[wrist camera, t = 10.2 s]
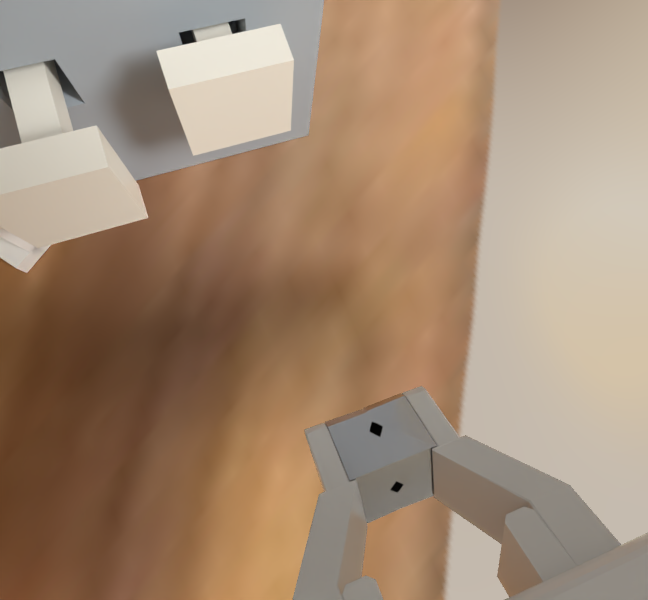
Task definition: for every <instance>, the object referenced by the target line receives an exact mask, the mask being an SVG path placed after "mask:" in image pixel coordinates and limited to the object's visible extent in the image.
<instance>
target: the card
mask: <svg viewBox="0 0 648 600" xmlns="http://www.w3.org/2000/svg"><path fill="white" fill-rule="evenodd" d="M50 246H51V245H48V246H45V247H41V248H36V247H35V246H33V245H31V244H29V243H28V242H26V241H24V240H22V239H21V238H19V237H17V236H15V235H14V234H12V233H10V232H8V231H7V230H5V229H3V228H1V227H0V258H1V259H3V260H4V261H6V262H7V263H9V264H11V265H12V266H14V267H15V268H17V269H19V270H21V271H23V272H26V273H28V272H29V270H30V269H31V268H32V267H33V266H34V264H35V263H36V262H37V261H38V260H39V259H40V257H41V256H42V255H43V254H44V253H45V252H46V250H47V249H48V248H49V247H50Z"/></svg>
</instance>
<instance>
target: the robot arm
mask: <svg viewBox="0 0 648 600" xmlns="http://www.w3.org/2000/svg"><path fill="white" fill-rule="evenodd" d="M304 431H305V435H306V438H307V441H308V444H309V447H310V451H311V454H312V457H313V460H314V463H315V466H316V470H317V473H318V476H319V479H320V482H321V485H322V488H323V490H324V492H323V493H321V494H319V497H318V501H317V505H316V509H315V513H314V517H313V521H312V525H311V529H310V533H309V537H308V540H307V544H306V548H305V552H304V556H303V560H302V564H301V568H300V572H299V576H298V580H297V584H296V588H295V592H294V596H293V600H383V597H382V595H381V592H380V590H379V587H378V585H377V582H376V580H375V579H373V578H370V577H368V576H364V577H362V578H361V576H362V567H363V559H364V551H365V542H366V534H367V523H369V522H371V521H374V520H376V519H378V518H380V517H383V516H385V515H387V514H389V513H391V512H394V511H396V510H398V509H400V508H403V507H406V506H408V505H411V504H413V503H416V502H418V501H421V500H424V499H426V498H429V497H431V496H434V498H436V499H437V500H438V501H440V502H441V503H443V504H444V505H446V506H447V507H449V508H450V509H451V510H453V511H454V512H456V513H457V514H459V515H460V516H462V517H463V518H464V519H466V520H467V521H469V522H470V523H472V524H473V525H475V526H476V527H477V528H479V529H480V530H482V531H483V532H485V533H486V534H488V535H489V536H491V537H492V538H493V539H495V540H496V541H498V542H499V543H500V544H502V547H501V554H500V561H499V568H498V575H497V577H498V578H499V580H500V582H501V583H502V585H503V587H504V588H505V590H506V592H507V594H508V595H509V598H507V599H505V600H648V533H646V534H644V535H642V536H640V537H637V538H635V539H633V540H631V541H629V542H627V543H625V544H623V545H621V544H620V543H619V542H618V540H617V539H616V538H615V537H614V536H613V535H612V534H611V532H610V531H609V530H608V529H607V528H606V527H605V526H604V524H603V523H602V522H601V521H600V520H599V518H598V517H597V516H596V515H595V514H594V513H593V512H592V510H591V509H590V508H589V507H588V506H587V505H586V503H585V502H584V501H583V500H582V499H581V498H580V497H579V495H578V494H577V493H576V492H575V491H574V489H573V488H572V487H571V486H570V485H568V484H566V483H564V482H562V481H560V480H558V479H556V478H554V477H551V476H550V475H548V474H545V473H543V472H541V471H539V470H537V469H535V468H533V467H531V466H529V465H527V464H524V463H522V462H520V461H518V460H516V459H514V458H512V457H510V456H508V455H506V454H503V453H501V452H499V451H497V450H495V449H493V448H491V447H489V446H487V445H485V444H483V443H480V442H478V441H476V440H474V439H472V438H470V437H468V436H466V435H465V436H463V437H459V436H458V434H457V433H456V431H455V430H454V429H453V427H452V426H451V424H450V423H449V422H448V420H447V419H446V417H445V416H444V414H443V413H442V412H441V410H440V409H439V407H438V406H437V405H436V403H435V402H434V400H433V399H432V398H431V396H430V395H429V393H428V392H427V391H426V389H425V388H423V387H422V386H420V387H417V388H415V389H412V390H409V391H407V392H404V393H402V394H401V393H400V394H397V395H395V396H392V397H390V398H387V399H385V400H382V401H380V402H377V403H375V404H372V405H369V406H367V407H364V408H363V409H361V410H359V411H356V412H353V413H350V414H347V415H344V416H341V417H338V418H335V419H333V420H330V421H327V422H325V423H321V424H319V425H316V426H313V427H310V428H308V429H305V430H304Z"/></svg>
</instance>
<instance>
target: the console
mask: <svg viewBox="0 0 648 600" xmlns="http://www.w3.org/2000/svg"><path fill="white" fill-rule="evenodd" d="M323 5H324V0H0V148H4V147H8V146H13V145H17V144H21V143H22V142H21V138H20V134H19V130H18V127H17V123H16V119H15V115H14V111H13V107H12V103H11V99H10V96H9V92H8V88H7V84H6V80H5V76H4V72H3V70H7V69H12V68H16V67H21V66H26V65H30V64H35V63H40V62H44V61H49V60H54V63H55V66H56V70H57V74H58V77H59V81H60V84H61V88H62V92H63V95H64V99H65V102H66V106H67V109H68V113H69V117H70V120H71V124H72V127H73V131H75V130H79V129H83V128H87V127H92V126H96V125H97V127H98V128H99V129H100V131H101V132H102V134H103V135H104V137H105V138H106V139H107V141H108V142H109V144H110V145H111V147H112V148H113V149H114V151H115V152H116V154H117V155H118V156H119V158H120V159H121V161H122V162H123V164H124V165H125V166H126V168H127V169H128V171H129V172H130V174H131V175H132V176H133V178H134V179H135V181H136V180H140V179H144V178H147V177H151V176H155V175H159V174H163V173H166V172H170V171H174V170H178V169H182V168H185V167H189V166H193V165H197V164H201V163H205V162H208V161H212V160H216V159H220V158H224V157H227V156H231V155H235V154H239V153H243V152H246V151H250V150H254V149H258V148H262V147H265V146H269V145H273V144H277V143H281V142H285V141H288V140H292V139H296V138H300V137H304V136H307V135H308V134H309V125H310V117H311V108H312V100H313V91H314V82H315V74H316V65H317V57H318V48H319V40H320V31H321V22H322V14H323ZM226 22H228V23H229V26H230V29H231V32H232V34H235V33H240V32H244V31H249V30H253V29H258V28H262V27H267V26H271V25H276V24H281V26H282V29H283V32H284V34H285V37H286V40H287V42H288V45H289V48H290V51H291V53H292V56H293V59H294V71H293V93H292V115H291V131H287V132H284V133H280V134H276V135H272V136H268V137H264V138H260V139H257V140H253V141H249V142H245V143H241V144H237V145H233V146H230V147H226V148H222V149H218V150H214V151H210V152H206V153H203V154H199V155H195V156H193V154H192V151H191V148H190V146H189V143H188V140H187V138H186V135H185V132H184V130H183V127H182V124H181V122H180V119H179V116H178V114H177V111H176V108H175V106H174V103H173V100H172V98H171V95H170V92H169V90H168V86H167V83H166V80H165V77H164V74H163V71H162V68H161V65H160V61H159V58H158V55H157V52H156V51H158V50H162V49H167V48H171V47H176V46H181V45H185V44H190V43H194V42H195V41H194V38H193V35H192V32H191V30H193V29H198V28H202V27H207V26H212V25H216V24H221V23H226Z"/></svg>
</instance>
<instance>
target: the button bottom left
mask: <svg viewBox="0 0 648 600" xmlns="http://www.w3.org/2000/svg"><path fill="white" fill-rule="evenodd" d="M3 72H4V76H5V80H6V84H7V88H8V92H9V96H10V99H11V103H12V107H13V111H14V115H15V119H16V123H17V127H18V130H19V134H20V138H21V142H22V143H21V144H17V145H13V146H8V147H4V148H0V227H1V228H3V229H5V230H7V231H8V232H10V233H12V234H14V235H15V236H17V237H19V238H21V239H22V240H24V241H26V242H28V243H29V244H31V245H33V246H35V247H36V248H41V247H45V246H48V245H52V244H55V243H59V242H63V241H66V240H70V239H74V238H77V237H81V236H84V235H88V234H92V233H95V232H99V231H102V230H106V229H110V228H113V227H117V226H121V225H124V224H128V223H131V222H135V221H139V220H142V219H146V218H148V215H147V212H146V208H145V205H144V202H143V198H142V195H141V191H140V188H139V185H138V184H137V182H136V181H135V179H134V178H133V176H132V175H131V174H130V172H129V171H128V169H127V168H126V166H125V165H124V164H123V162H122V161H121V159H120V158H119V156H118V155H117V154H116V152H115V151H114V149H113V148H112V147H111V145H110V144H109V142H108V141H107V139H106V138H105V137H104V135H103V134H102V132H101V131H100V129H99V128H98V127H97V125H96V126H92V127H87V128H83V129H79V130H75V131H73V127H72V124H71V120H70V117H69V113H68V109H67V106H66V102H65V99H64V95H63V92H62V88H61V84H60V81H59V77H58V74H57V70H56V66H55V63H54V60H49V61H44V62H40V63H35V64H30V65H26V66H21V67H16V68H12V69H7V70H3Z"/></svg>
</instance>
